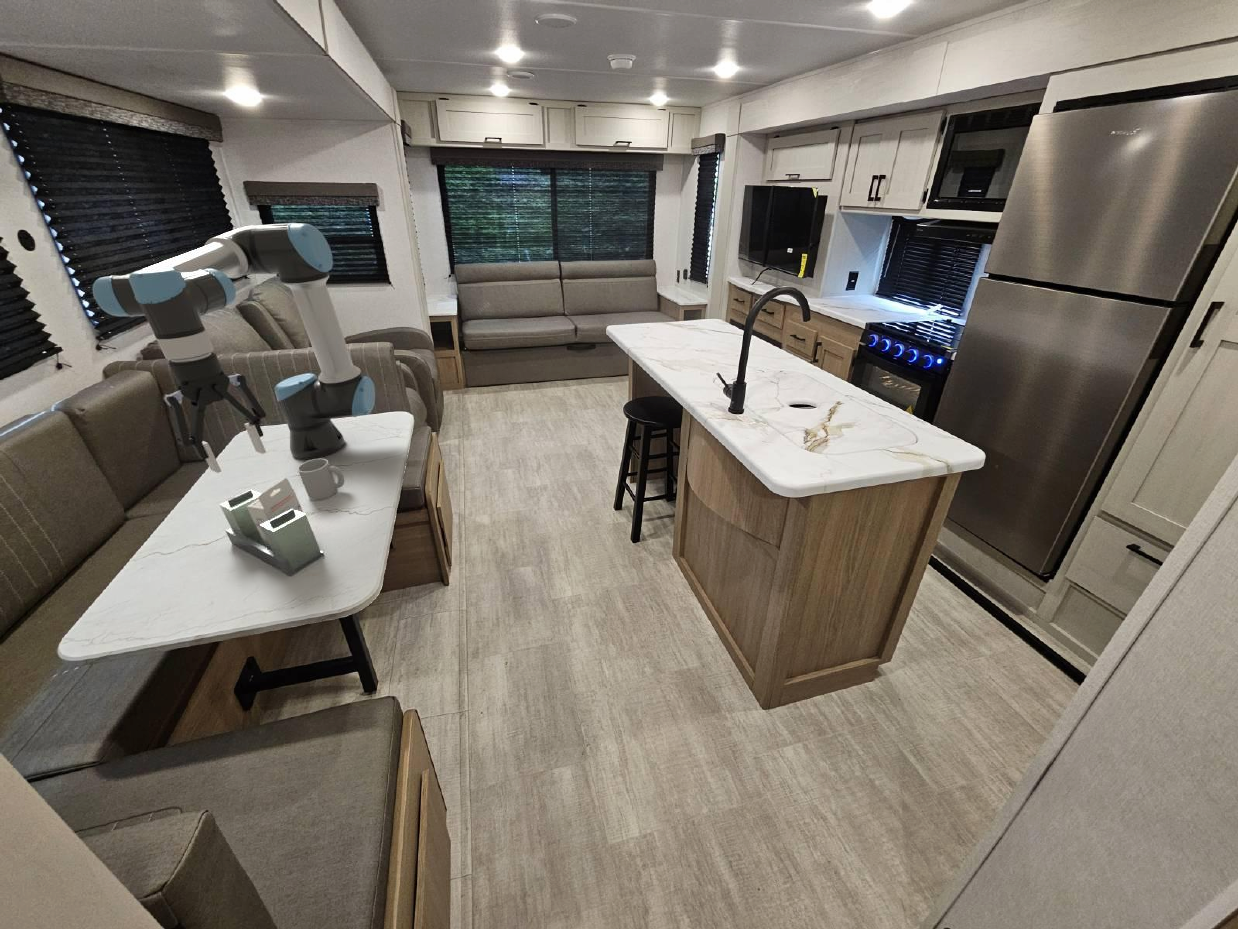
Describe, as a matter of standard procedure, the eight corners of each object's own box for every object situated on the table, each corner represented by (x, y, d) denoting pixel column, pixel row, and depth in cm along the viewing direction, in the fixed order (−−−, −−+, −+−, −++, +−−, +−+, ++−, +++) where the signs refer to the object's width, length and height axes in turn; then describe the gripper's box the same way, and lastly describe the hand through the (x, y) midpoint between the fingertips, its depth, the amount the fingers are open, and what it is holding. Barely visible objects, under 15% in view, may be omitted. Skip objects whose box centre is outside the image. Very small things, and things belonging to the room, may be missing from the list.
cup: (313, 488, 144) (302, 460, 140) (351, 483, 146) (342, 455, 141) (305, 502, 138) (293, 473, 134) (345, 497, 140) (335, 468, 135)
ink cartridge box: (294, 526, 127) (271, 474, 120) (311, 529, 126) (289, 476, 118) (265, 548, 120) (239, 494, 112) (283, 551, 118) (258, 497, 111)
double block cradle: (266, 526, 129) (246, 484, 123) (324, 555, 118) (306, 510, 112) (232, 544, 123) (210, 501, 117) (290, 576, 112) (269, 530, 106)
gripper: (239, 338, 108) (279, 437, 119) (114, 370, 92) (173, 480, 104) (259, 343, 105) (298, 443, 116) (133, 376, 89) (192, 489, 100)
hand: (239, 460), depth 110 cm, fingers open, 8 cm apart
